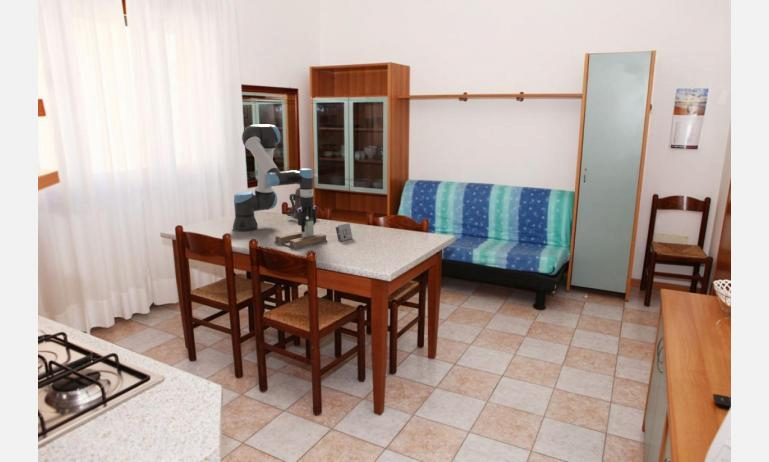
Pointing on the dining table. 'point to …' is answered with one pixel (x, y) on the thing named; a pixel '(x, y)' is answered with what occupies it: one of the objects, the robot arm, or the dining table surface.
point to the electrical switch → (344, 232)
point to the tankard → (297, 204)
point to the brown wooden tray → (299, 240)
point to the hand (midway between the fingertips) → (307, 236)
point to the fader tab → (309, 226)
